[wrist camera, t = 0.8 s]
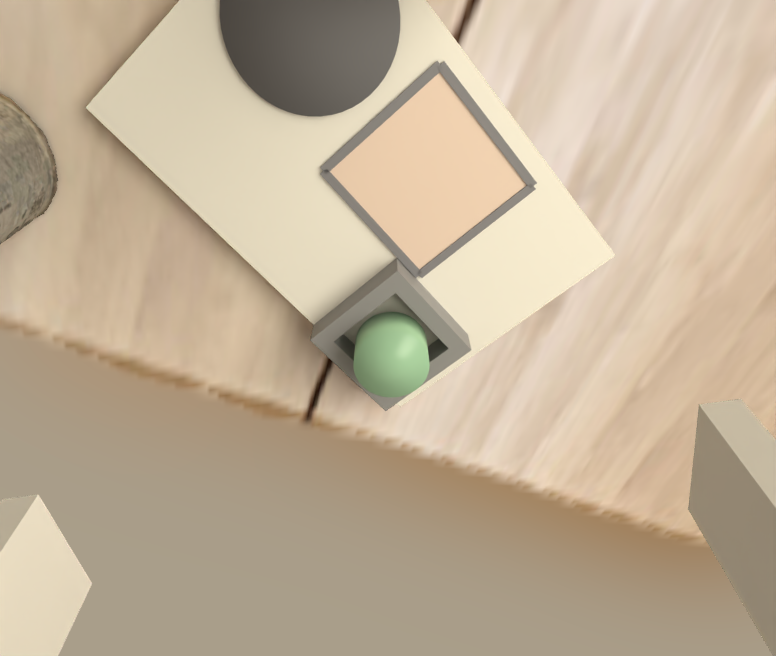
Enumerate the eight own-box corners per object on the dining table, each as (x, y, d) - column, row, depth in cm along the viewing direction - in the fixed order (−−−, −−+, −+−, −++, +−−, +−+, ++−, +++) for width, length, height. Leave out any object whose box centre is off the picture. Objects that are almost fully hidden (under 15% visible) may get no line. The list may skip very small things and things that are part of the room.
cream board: (94, 103, 34) (68, 113, 32) (315, -147, 29) (307, -162, 26) (399, 397, 44) (400, 425, 41) (609, 248, 38) (626, 268, 36)
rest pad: (183, 12, 31) (181, 12, 31) (312, -133, 28) (311, -134, 28) (309, 150, 34) (309, 151, 34) (436, 32, 32) (437, 32, 31)
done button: (340, 340, 38) (337, 362, 36) (394, 298, 37) (395, 318, 34) (387, 385, 40) (387, 409, 37) (441, 346, 38) (445, 369, 36)
